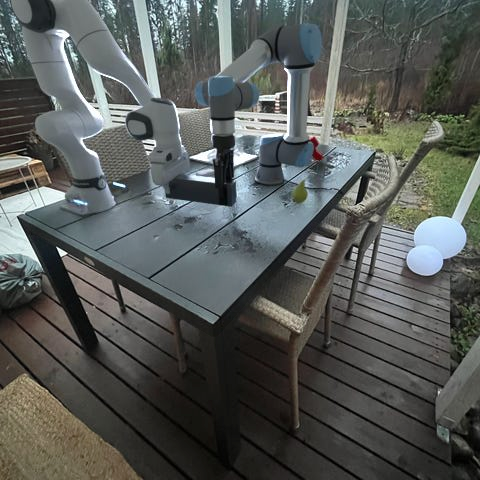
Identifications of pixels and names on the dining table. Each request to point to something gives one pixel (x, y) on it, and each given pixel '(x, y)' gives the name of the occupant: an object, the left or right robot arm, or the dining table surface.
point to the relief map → (208, 157)
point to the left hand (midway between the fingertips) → (175, 188)
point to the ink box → (206, 173)
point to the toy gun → (316, 153)
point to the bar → (200, 189)
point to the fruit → (300, 192)
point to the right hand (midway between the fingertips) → (225, 201)
